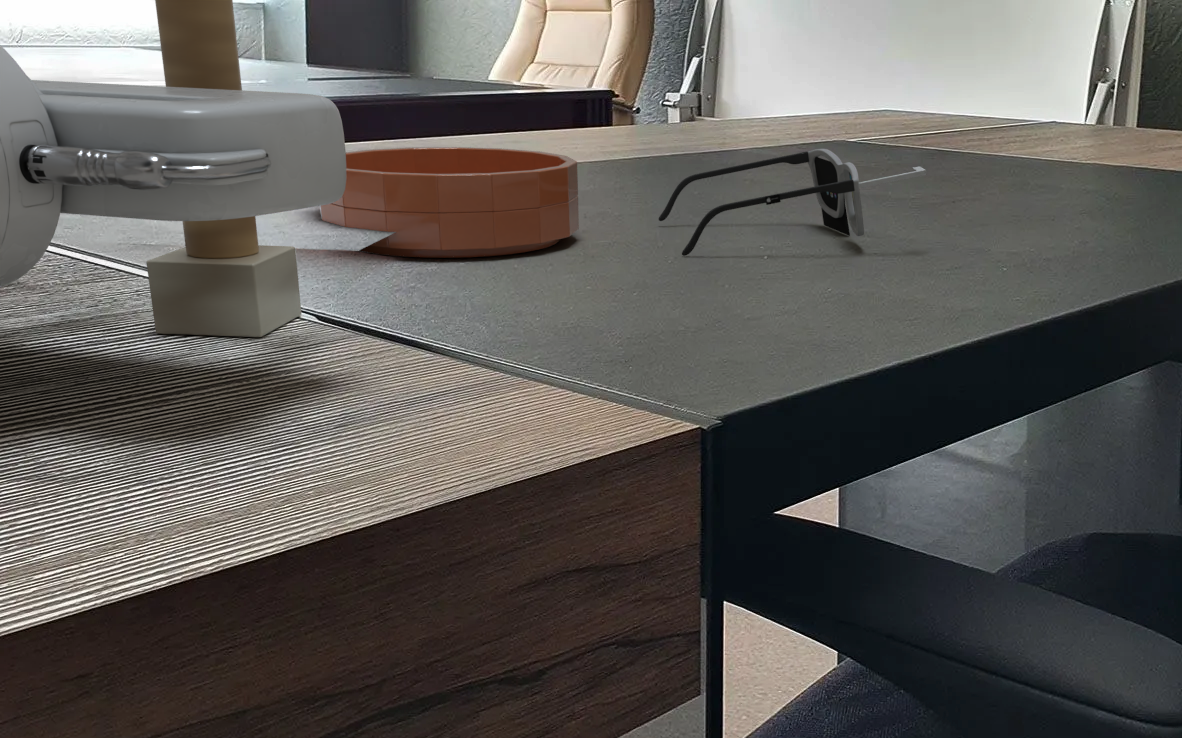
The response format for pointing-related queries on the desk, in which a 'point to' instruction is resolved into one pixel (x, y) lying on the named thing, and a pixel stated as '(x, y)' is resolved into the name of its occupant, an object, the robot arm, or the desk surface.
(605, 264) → the desk surface
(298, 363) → the desk surface
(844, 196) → the smart glasses
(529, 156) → the bowl
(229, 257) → the brush
